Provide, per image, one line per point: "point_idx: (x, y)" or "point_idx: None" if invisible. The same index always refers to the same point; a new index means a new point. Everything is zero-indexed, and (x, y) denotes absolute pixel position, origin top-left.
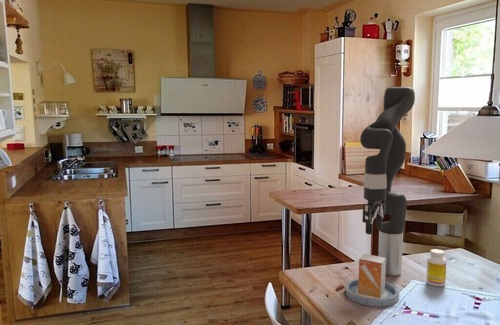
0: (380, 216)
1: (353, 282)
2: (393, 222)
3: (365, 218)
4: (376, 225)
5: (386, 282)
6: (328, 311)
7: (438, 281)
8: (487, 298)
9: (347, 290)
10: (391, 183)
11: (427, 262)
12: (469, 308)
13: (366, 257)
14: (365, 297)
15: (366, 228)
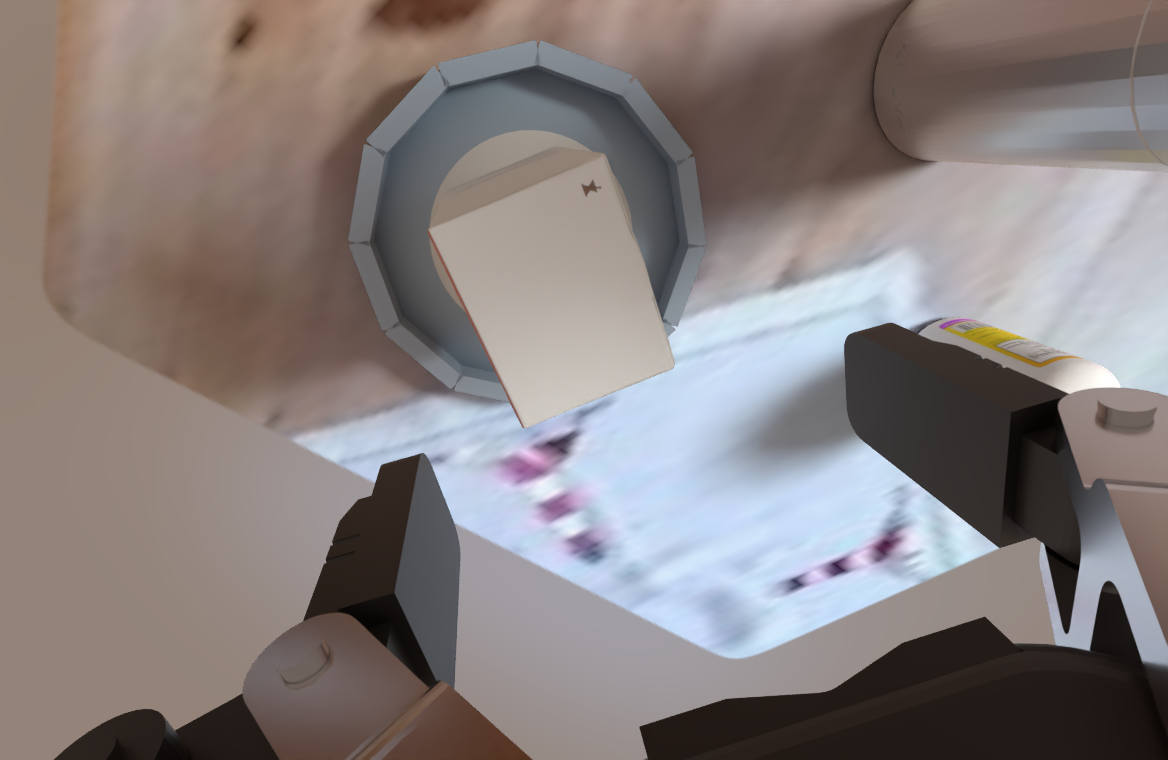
0: (1067, 550)
1: (531, 67)
2: None
3: (274, 749)
4: (875, 364)
5: (696, 243)
6: (94, 221)
7: None
8: (910, 564)
9: (362, 153)
10: None
11: (1020, 371)
12: (766, 578)
13: (522, 254)
14: (390, 308)
15: (332, 573)
